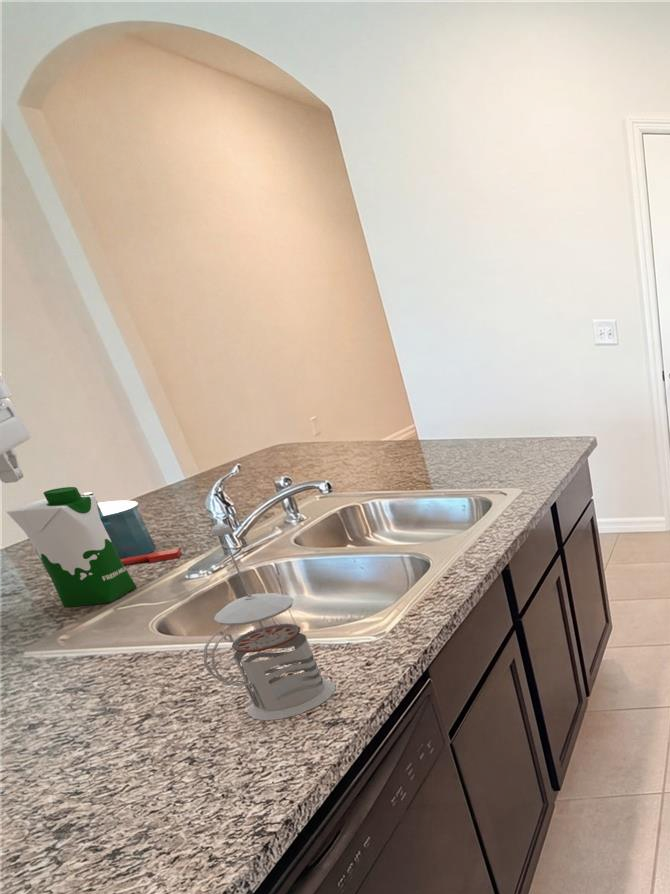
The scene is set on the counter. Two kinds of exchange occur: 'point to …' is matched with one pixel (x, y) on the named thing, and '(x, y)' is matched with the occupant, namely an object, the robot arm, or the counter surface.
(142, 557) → the red long bar
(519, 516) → the counter surface
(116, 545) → the pot
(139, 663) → the counter surface
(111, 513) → the white round shallow piece
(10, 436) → the robot arm
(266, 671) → the french press
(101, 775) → the counter surface
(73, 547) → the milk carton
